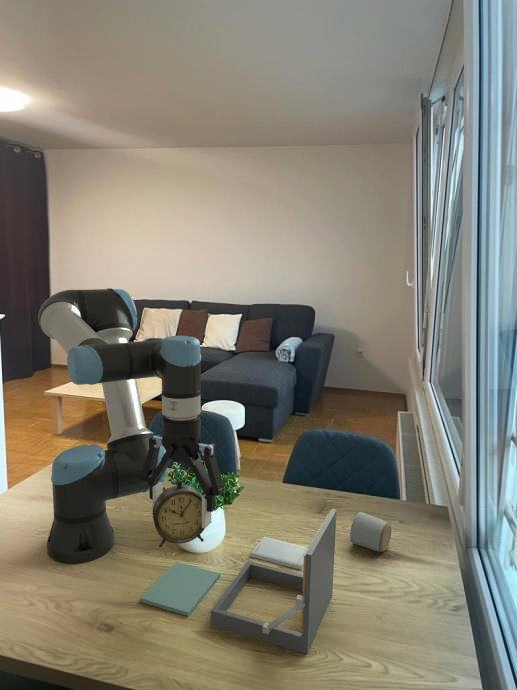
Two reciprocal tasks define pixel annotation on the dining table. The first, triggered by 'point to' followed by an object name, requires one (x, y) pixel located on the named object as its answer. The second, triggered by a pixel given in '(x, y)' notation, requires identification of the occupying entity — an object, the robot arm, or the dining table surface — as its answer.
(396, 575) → the dining table surface
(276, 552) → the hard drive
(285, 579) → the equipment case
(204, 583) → the rubber mat
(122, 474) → the robot arm
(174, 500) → the alarm clock
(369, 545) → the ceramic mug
